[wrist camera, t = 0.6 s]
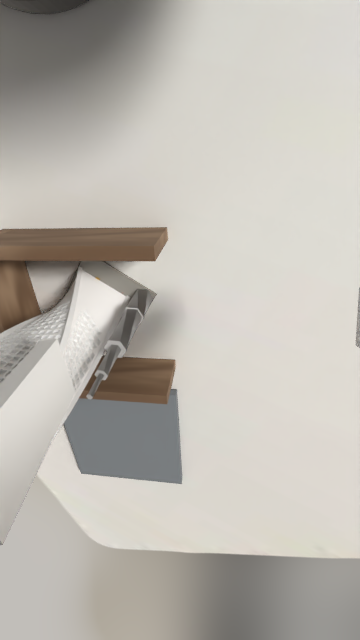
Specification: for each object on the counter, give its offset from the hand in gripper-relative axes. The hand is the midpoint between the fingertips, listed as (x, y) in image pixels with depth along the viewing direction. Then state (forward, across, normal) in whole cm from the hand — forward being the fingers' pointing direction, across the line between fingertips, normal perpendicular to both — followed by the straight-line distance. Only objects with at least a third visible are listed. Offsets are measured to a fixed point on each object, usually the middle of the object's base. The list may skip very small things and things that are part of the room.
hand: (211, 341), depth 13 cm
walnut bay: (+15, -9, -2) cm, 17 cm away
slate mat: (+18, -10, -19) cm, 28 cm away
